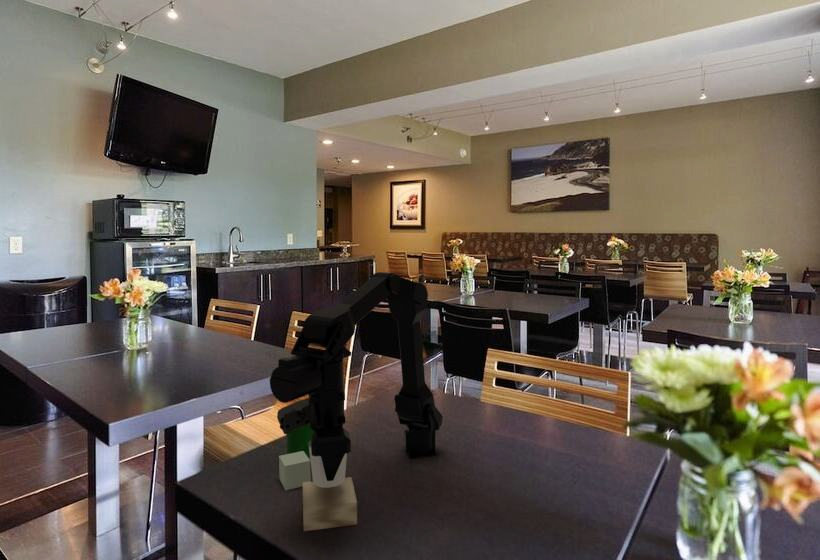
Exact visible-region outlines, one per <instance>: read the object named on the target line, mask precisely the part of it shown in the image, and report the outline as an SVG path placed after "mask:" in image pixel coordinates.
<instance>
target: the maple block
mask: <svg viewBox="0 0 820 560" xmlns="http://www.w3.org/2000/svg"><path fill="white" fill-rule="evenodd" d="M302 510H303V511H302V512H303V513H302V514H303V519H302V521H303V532H308V531H316V530H317V531H318V530H324V529H331V528H332V529H333V528H339V527H341V528H342V527H349V526H356V525H358V501H357V495H356V491H355V487H354V482H353V478H352V476H351V477H345V480H344V482H343V483H341V484H340V485H338V486H335V487H329V488H324V487H319V486H316V485H315V484H314V483H313V480H312V481H310V482H303V486H302Z"/></svg>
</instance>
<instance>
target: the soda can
mask: <svg viewBox="0 0 820 560" xmlns="http://www.w3.org/2000/svg"><path fill="white" fill-rule="evenodd" d="M313 433H314V431H313V430H312V429H311V428H310V422H309V423H308V424H307V425H305V426H303V427H300V428H298V429H296V430H293V431H292V432H291V433H289V434H286V454H291V453H296V452H300V451H304V453H305V454H306V455H307V457H308V458H309V460H310V452H309V444H308V443H309V442H310V440H311V435H312V434H313ZM310 464H311V460H310Z"/></svg>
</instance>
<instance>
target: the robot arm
mask: <svg viewBox="0 0 820 560" xmlns="http://www.w3.org/2000/svg"><path fill="white" fill-rule="evenodd" d="M428 297H429V293H428V290H427V287H426V286H425V285H424V284H423V282H420V281H413V280H410V279H407V278H405V277H402V276H400V275H399V274H397V273H394V272H385V271H384V272H383V271H381V272H380V271H377V272H374V273H373V274H371V276H370V278H369V279H368V280H367V281H366V282H364V283H363V284H362V285H361V286H359V287H358V288H357V289H356V290H354V291H353V292H352V293H350V294H349V295H348V296H346V297H345V298H344V299H343V300H342V301H340V302H338V303H337V304H335V305H332V306H327V307H324V308H321V309H319V310H317V311H314V312H313V313H311V314H309V315H308V316H307V317H306V318H305V320H304V321H303V326H302V328H301V331H300V333H299V334H298V337H297V339H296V341H295V343H294V345H293V348H292V349H291V352H290V355H291V356H290V357H283V358H280V359H278V360H277V361H278V362H277V363H278V364H277V365H278V367H276V368H274V370H273V371H272V373H271V376H270V377H269V388H270V391H271V393H272V395H273V396H274V398H275V399H276V400H277V401H279V402H280V403H283V404H284V403H285V404H286V403H287V404H288V403H289V402H292V401H295V400H297V399H300V398H303V397H305V396H308V397H307V398H304V399H300V400H298V401H295V402H293V403H290V404H288V405H286V406H283V407H281V408H280V409H278V410H277V414H276V418H277V421H278V423H279V429H281V430H282V433H283V434H284V435H287V434H289V433H291V432H292V431H293V430H296V429H298V428H300V427H303V426H305V425H307V424H308V423H309V422H310V428H311V429H312V430H313V431H314V433H313V434H312V435H311V453H312V456H315V457H316V456H321V459H322V463H323V467H324V471H325V475H326V479H327V481H333V480H334V477H335V475H336V473H337V471H338V468H339V466H340V464H341V461H342V459H343V457H344V455H345V454H346V453H347V454H349V453H351V452H352V444H351V443H352V440H351V437H350V432H349V431H348V430H347V429H346V428H345V427H344V425H345V424H346V415H345V401H346V392H345V391H344V390H345V389H344V387H345V386H344V385H345V384H344V383H345V382H344V381H345V380H344V359H345V358H349V357H351V356H352V351H350V350H349V349H348V348H346V347H345V346H346V345H347V343H349V341H350V339H352V338H353V336H354V334H355V333H356V332H355V331H356V325H357V324H358V323H359V322H360V321H361V320H362V319H363V318H364V317H366V316H367V315H368V314H369V313H371V311H373V310H374V309H375V308H376V307H378V305H379V304H381V303H382V302H383V301H384V300H387V306H388V309H389V310H388V311H389V312H390V314H391V315H392V317H393V318H394V320H395V321H396V322H397V329H398V332H397V333H398V342H399V354H400V366H401V367H400V368H401V378H402V386H401V388H400V390H399V391H398V393H397V394H395V395H394V403H395V404H394V405H395V406H394V407H395V409H394V412H395V413H396V414H397V417H398V418H397V419H398V421H399V425H404V426H405V430H403V449H404V450H405V452H406V454H407V455H408V457H409V458H410V459H412V458H413V459H414V458H423V457H424V458H425V457H432V456H439V455H438V453H439V452H438V451H437V450H436V431H439V430H440V429H441V428H440V427H441V426H442V424H443V419H444V417H443V415H442V414H441V412H440V411H439V410H438V408H437V407H436V405H435V399H434V394H433V392H432V391H431V388H429V386H428V385H427V383H426V379H425V378H426V377H425V364H424V352H423V351H424V349H423V335H422V333H423V332H422V323H421V322H422V319H423V317H424V315H425V313H426V311H427V309H428ZM309 346H310V347H309ZM311 346H312V347H311Z"/></svg>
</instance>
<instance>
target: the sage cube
mask: <svg viewBox="0 0 820 560" xmlns="http://www.w3.org/2000/svg"><path fill="white" fill-rule="evenodd" d="M278 464H279V466H278V467H279V473H278V474H279V480H280V482H281V485H282V486H283V488H284V490H285V491H288V490H289V491H290V490H293V489H297V488H301V487H302V488H303V482H310V481H311V480H312V478H311V476H312V475H311V463H310V460H309V458H308V457H307V455H306V454H305V453H304V451H300V452H296V453H291V454H287V453H286V454H282V455H279V456H278Z"/></svg>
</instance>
